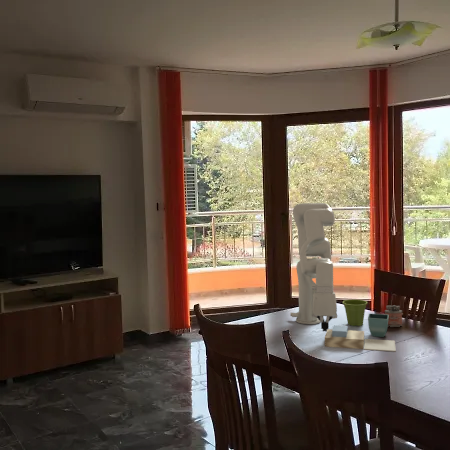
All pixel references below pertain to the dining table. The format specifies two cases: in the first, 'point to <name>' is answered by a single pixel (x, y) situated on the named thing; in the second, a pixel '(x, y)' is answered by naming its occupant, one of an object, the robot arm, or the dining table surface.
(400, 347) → the dining table surface
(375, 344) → the mat
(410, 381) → the dining table surface
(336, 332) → the light blue block
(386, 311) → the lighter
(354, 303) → the plant pot
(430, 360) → the dining table surface
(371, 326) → the flower pot
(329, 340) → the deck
